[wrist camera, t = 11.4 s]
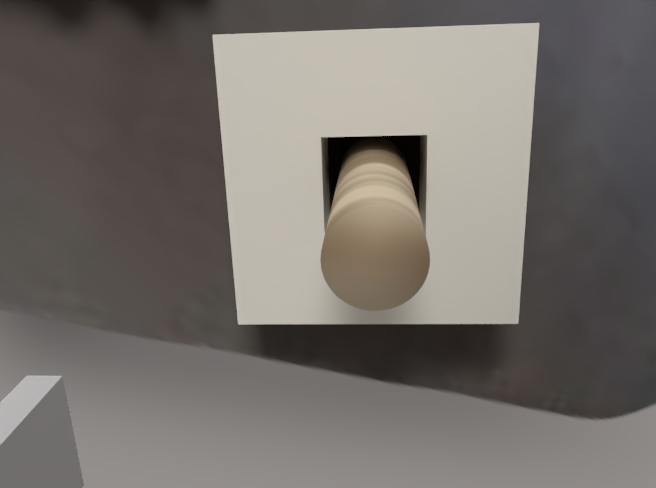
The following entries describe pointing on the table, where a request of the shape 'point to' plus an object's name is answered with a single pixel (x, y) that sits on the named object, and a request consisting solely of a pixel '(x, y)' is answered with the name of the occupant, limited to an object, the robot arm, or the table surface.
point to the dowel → (374, 230)
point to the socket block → (378, 120)
